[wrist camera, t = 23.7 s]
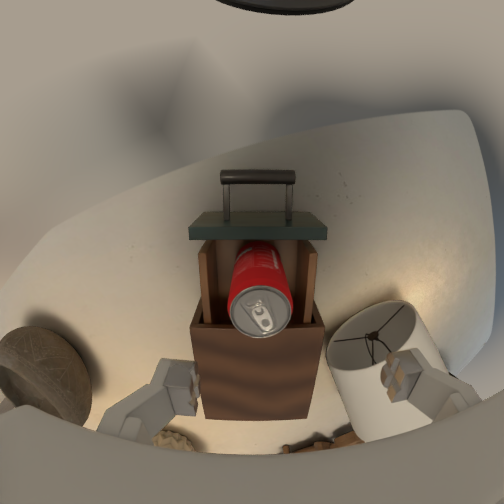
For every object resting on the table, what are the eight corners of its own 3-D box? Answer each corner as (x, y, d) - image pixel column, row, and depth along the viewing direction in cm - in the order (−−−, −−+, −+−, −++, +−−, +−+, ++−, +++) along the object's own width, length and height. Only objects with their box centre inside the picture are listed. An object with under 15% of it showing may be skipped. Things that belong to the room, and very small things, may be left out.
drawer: (202, 169, 30) (185, 171, 22) (311, 170, 29) (330, 172, 22) (210, 319, 36) (201, 356, 28) (302, 319, 36) (312, 356, 28)
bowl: (125, 392, 42) (98, 451, 28) (62, 391, 44) (35, 434, 30) (67, 300, 36) (14, 351, 22) (13, 316, 38) (-28, 353, 24)
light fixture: (365, 452, 41) (293, 352, 37) (428, 395, 44) (385, 277, 40) (407, 496, 25) (349, 412, 21) (478, 425, 28) (465, 291, 23)
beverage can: (269, 231, 31) (279, 271, 19) (287, 270, 32) (303, 326, 21) (228, 249, 31) (214, 298, 20) (247, 286, 33) (244, 348, 21)
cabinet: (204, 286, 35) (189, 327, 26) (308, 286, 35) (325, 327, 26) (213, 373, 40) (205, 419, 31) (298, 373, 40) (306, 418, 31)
